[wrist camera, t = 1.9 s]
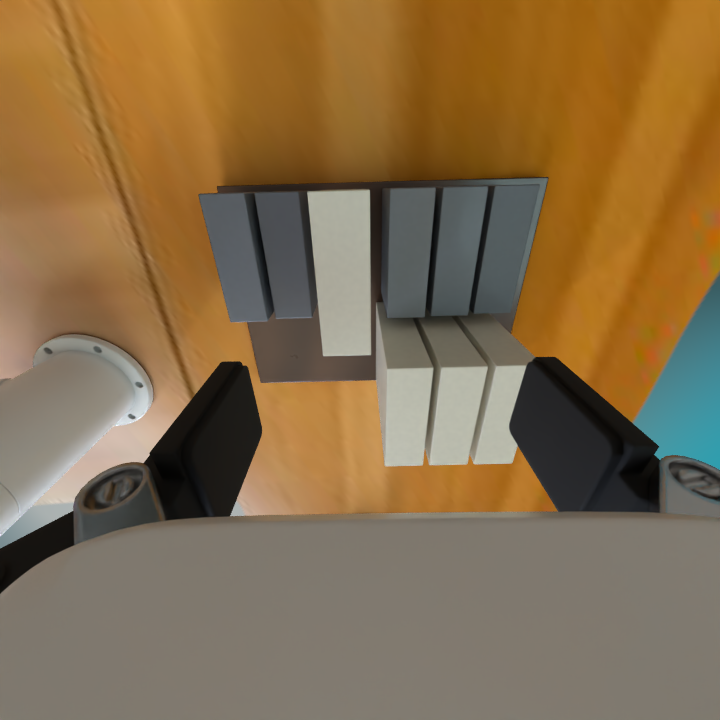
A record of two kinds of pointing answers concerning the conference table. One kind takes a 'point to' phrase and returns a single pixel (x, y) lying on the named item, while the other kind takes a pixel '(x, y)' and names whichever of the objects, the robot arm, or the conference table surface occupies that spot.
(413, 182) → the shelf board
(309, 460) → the conference table surface
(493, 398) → the ivory books
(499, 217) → the grey books
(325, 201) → the ivory book
